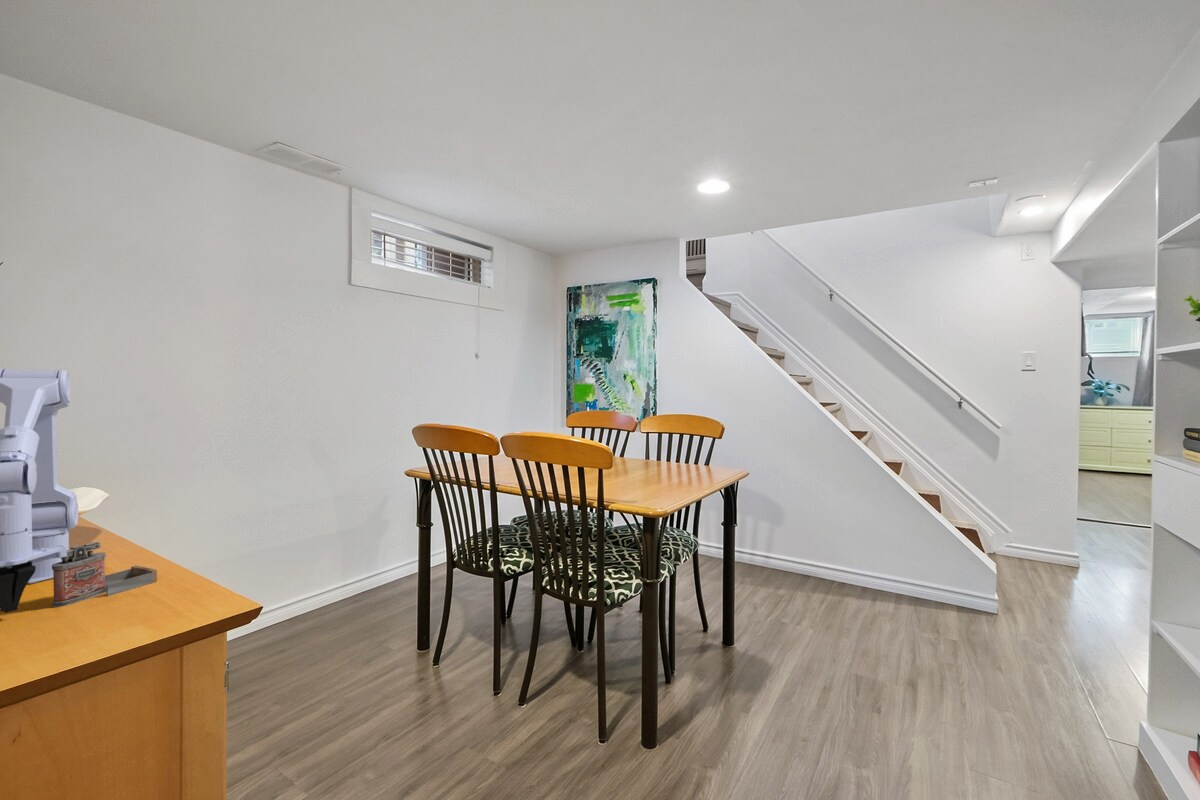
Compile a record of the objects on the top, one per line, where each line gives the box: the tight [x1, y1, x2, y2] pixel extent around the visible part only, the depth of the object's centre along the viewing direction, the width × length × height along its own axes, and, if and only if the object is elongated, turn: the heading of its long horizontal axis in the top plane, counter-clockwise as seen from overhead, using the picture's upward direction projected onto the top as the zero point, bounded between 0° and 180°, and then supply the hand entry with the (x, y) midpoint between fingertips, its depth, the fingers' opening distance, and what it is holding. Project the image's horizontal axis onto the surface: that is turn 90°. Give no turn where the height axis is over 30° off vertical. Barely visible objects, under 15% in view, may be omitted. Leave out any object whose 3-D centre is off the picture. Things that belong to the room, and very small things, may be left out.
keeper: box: [105, 565, 158, 597], centre depth 105 cm, size 7×8×2 cm
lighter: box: [51, 541, 107, 608], centre depth 98 cm, size 8×3×10 cm, turn 168°
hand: (8, 610), depth 90 cm, fingers closed
